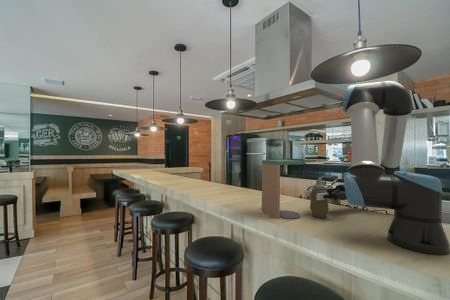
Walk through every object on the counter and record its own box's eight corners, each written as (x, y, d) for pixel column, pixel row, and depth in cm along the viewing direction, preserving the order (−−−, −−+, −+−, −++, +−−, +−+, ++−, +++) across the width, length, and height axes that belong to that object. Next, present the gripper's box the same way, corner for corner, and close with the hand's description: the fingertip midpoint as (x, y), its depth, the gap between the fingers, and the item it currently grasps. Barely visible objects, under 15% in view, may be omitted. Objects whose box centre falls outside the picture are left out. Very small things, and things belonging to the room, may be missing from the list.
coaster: (306, 217, 99) (306, 216, 99) (285, 220, 94) (285, 219, 94) (288, 210, 110) (288, 209, 110) (268, 213, 105) (268, 212, 105)
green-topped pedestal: (304, 215, 102) (304, 159, 103) (276, 219, 96) (277, 159, 96) (287, 208, 113) (287, 158, 114) (261, 212, 107) (262, 158, 107)
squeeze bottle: (330, 219, 96) (331, 178, 96) (311, 218, 98) (311, 178, 98) (326, 214, 104) (326, 176, 104) (308, 213, 106) (308, 176, 106)
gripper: (365, 203, 99) (328, 208, 90) (329, 195, 117) (295, 199, 108) (365, 187, 99) (329, 190, 90) (329, 181, 117) (296, 184, 108)
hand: (311, 195), depth 99 cm, fingers closed on squeeze bottle, 6 cm apart
